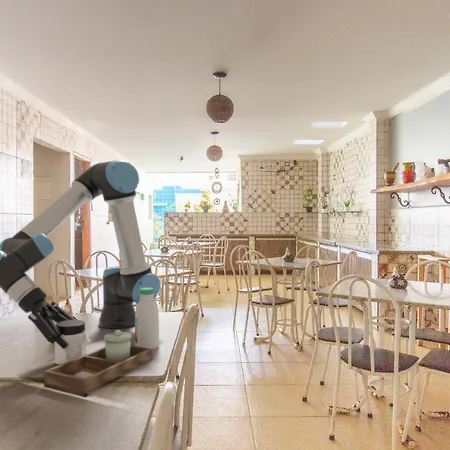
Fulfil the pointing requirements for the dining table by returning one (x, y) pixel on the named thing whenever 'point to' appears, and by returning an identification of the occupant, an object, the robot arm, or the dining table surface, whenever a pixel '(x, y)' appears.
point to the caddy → (92, 370)
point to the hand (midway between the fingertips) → (81, 348)
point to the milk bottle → (147, 321)
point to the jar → (71, 339)
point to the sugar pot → (117, 346)
